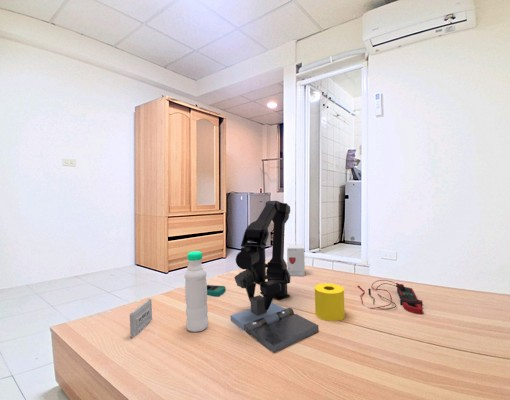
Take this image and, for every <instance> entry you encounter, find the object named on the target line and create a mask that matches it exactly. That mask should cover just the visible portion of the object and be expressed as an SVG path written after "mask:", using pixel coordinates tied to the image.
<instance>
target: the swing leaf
mask: <svg viewBox="0 0 510 400" xmlns="http://www.w3.org/2000/svg"><path fill="white" fill-rule="evenodd" d="M250 301H251V302H250ZM249 302H250V308H248V309H246V310H243V311H240V312H236V313H233V314H231V315H230V322H232V323H233V324H235V325H236V326H237V327H239V328H240V329H241V330H243V331H246V327H245V326H246V324H247V323H249V322H252V321H255V320H257V319H260V318H264V319H265V320H266V323H267V325H269V324H271V323H274V322H277V321H279V316H278V315H277V314H276V313H277V312H279V311H282V310H285V309H286V308H285V307H283V306H281V305H278V304H276V303H274V302H273V301H272V302H271V305H270V307H269V309H268V310H265V307H264V298H263V295H261V294H260V295H256V296H255V295H254V297H252V298H250V300H249Z"/></svg>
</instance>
